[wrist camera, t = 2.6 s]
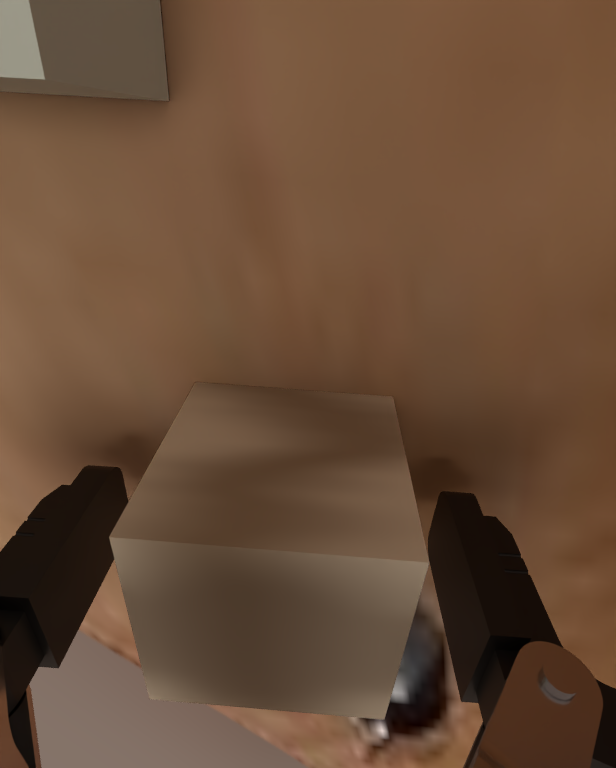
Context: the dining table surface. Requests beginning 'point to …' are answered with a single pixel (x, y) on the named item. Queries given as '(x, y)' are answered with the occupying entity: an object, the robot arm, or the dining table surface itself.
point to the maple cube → (274, 552)
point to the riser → (83, 48)
